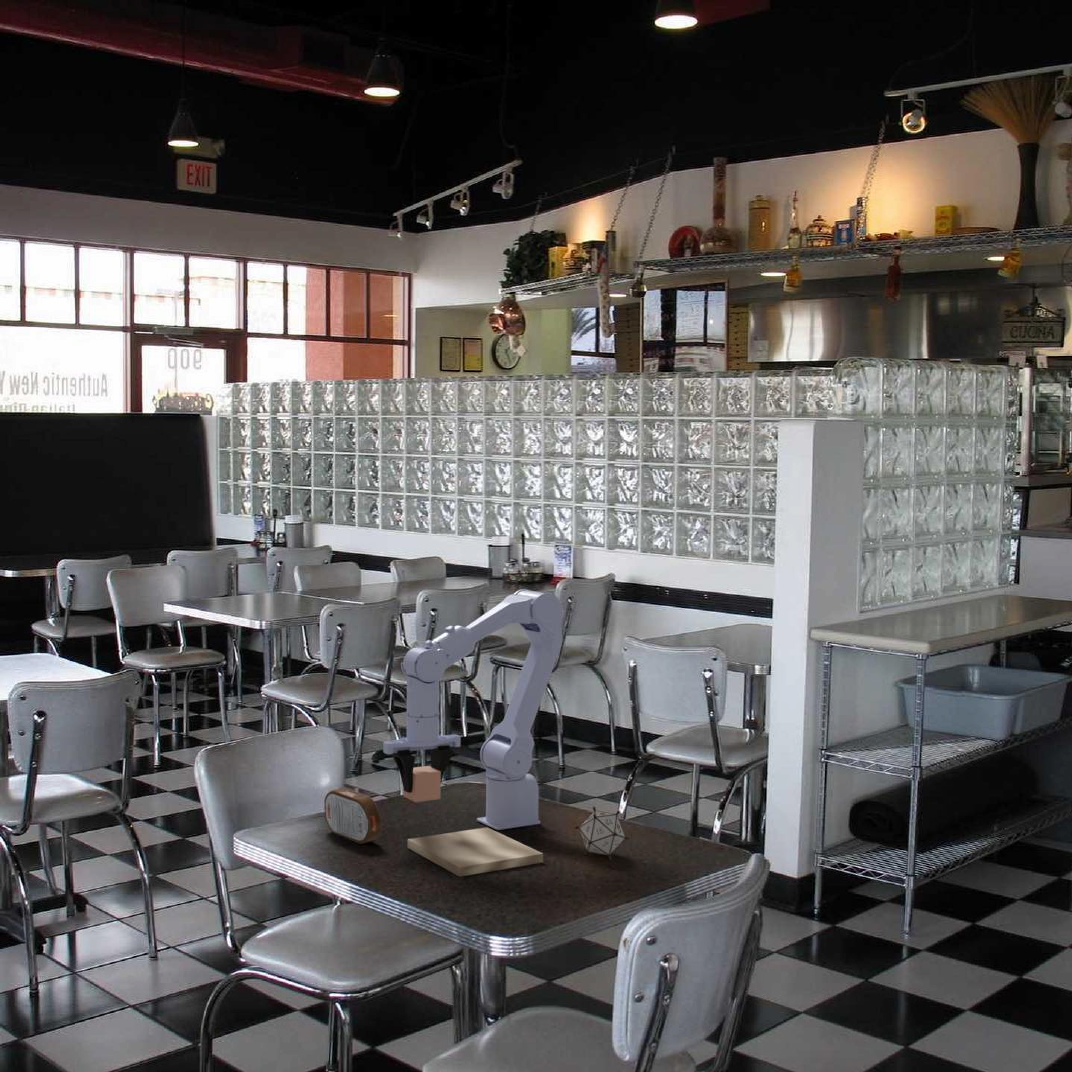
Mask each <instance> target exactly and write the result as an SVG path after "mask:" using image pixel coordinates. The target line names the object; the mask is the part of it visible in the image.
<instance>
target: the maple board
mask: <svg viewBox="0 0 1072 1072" xmlns="http://www.w3.org/2000/svg"><path fill="white" fill-rule="evenodd" d="M407 849H409V850H411V851H413V852H414V853H416V854H418V855H420V856H421V857H423V858H425V859H427V860H429V861H431V862H433V863H434V864H436V865H438V866H440V867H441V868H443V869H445V870H447V871H448V872H451V873H453V874H454V875H455V876H458V877H459V878H460V877H465V876H471V875H472V876H473V875H476V874H484V873H488V872H494V871H501V870H507V869H511V868H517V867H524V866H530V865H535V864H541V863H544V853H543V852H541V851H538V850H537V849H534V848H533V847H530V846H528V845H526V844H523V843H521V842H520V841H517V840H515V839H513V838H511V837H508V836H506V835H505V834H502V833H501V832H498V831H495V829H494V830H493V828H492V829H491V827H490V828H489V826H487V827H481V828H473V829H466V830H460V831H454V832H447V833H441V834H433V835H427V836H426V835H425V836H420V837H413V838H408V839H407Z"/></svg>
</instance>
